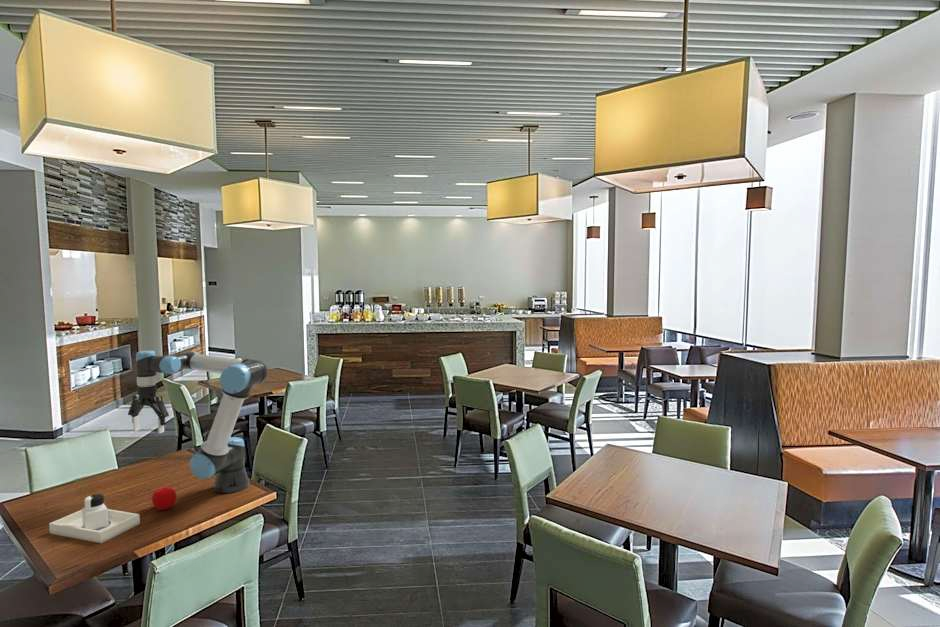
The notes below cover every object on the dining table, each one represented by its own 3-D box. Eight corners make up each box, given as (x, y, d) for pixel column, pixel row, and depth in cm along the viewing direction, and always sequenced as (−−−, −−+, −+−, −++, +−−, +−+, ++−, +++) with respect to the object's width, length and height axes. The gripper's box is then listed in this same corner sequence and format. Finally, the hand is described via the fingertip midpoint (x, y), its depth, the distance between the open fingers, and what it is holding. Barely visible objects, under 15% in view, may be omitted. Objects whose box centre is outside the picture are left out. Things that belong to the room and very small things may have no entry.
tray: (139, 524, 208) (139, 514, 208) (101, 543, 193) (100, 532, 193) (90, 515, 216) (90, 506, 216) (49, 533, 201) (49, 523, 200)
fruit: (154, 505, 226) (153, 482, 225) (177, 501, 229) (177, 479, 228) (150, 514, 217) (149, 490, 216) (175, 510, 221) (174, 487, 220)
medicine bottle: (104, 520, 209) (103, 490, 209) (108, 526, 204) (107, 496, 204) (82, 526, 204) (81, 496, 204) (86, 532, 199) (84, 501, 199)
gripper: (176, 384, 237) (178, 430, 238) (131, 382, 243) (134, 427, 245) (162, 388, 230) (165, 435, 231) (117, 385, 236) (119, 431, 237)
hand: (149, 431), depth 238 cm, fingers open, 13 cm apart
